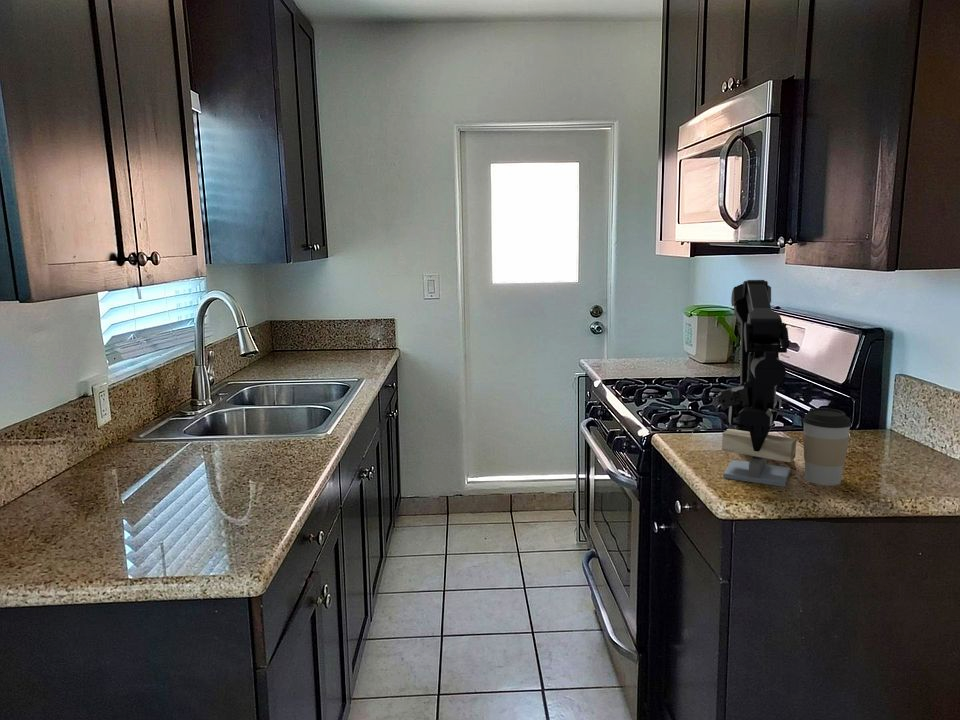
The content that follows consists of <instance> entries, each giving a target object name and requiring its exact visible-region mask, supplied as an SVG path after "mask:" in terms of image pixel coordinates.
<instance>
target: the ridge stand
mask: <svg viewBox="0 0 960 720" xmlns="http://www.w3.org/2000/svg"><path fill="white" fill-rule="evenodd" d="M751 457H752V458H751V459H750V461H745V460H744V461H743V460H736V459H731V461H730V463H729V464H728V465H727V467H726V469H725V471H724V472H723V477H722V478H724V479H729V480H736V481H742V482H750V483H757V484H763V485H770V486H774V487H775V486H776V487H782V488H785V487H786V483H787V482H788V479H789V476H790V474H791V467H789V466H788V467H787V466H780V465H773V464H766V463H767V458H762V457H756V456H751Z"/></svg>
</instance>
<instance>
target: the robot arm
mask: <svg viewBox="0 0 960 720" xmlns="http://www.w3.org/2000/svg"><path fill="white" fill-rule="evenodd" d="M730 301H731V302H730V303H731V307H733V313H734V314H733V315H734V316H735V318H736V319H737V320H738V323H740V366H739V367H740V368H739V369H740V372H739V374H740V377H739V378H740V379H739V380H740V384H739V385H738V386H736V387H732V388H729V387H728V388H727V389H722V390H721V391H720V392H718V394H717V399H718V400H717V402H718V404H720V407H721V409H722V410H724V409H727V408H728V423H729V426H734V429H735V430H741V431H748V432H750V436H751V440H752V445H753V449H754V451H758V452H759V451H760V449H761V447H762V445H763V443H764V441H765V438H766V436H767V435H769V433H770V431H771V429H772V427H773V425H774V423H775V420H776V419H777V416H778V414H779V412H778V410H779V411H780V410H781V407H782V398H781V397H780V396H779V395H778V394H777V387H778V385H780V384H781V383H782V382H783V381H784V380H785V377H786V374H787V371H786V366H785V365H784V363H783V362H782V361H781V360H780V357H779V353H780V354H784V353H785V354H786V353H788V349H789V348H790V340H789V331H788V328H787V326H786V322H783V320H782V317H781V314H780V313H779V312H777V311H774V310H772V306H771V303H772V287H771V286H770V285H769V282H768V280H765V279H747V280H744V281H743V282H742V283H741V284H739V285H736V286H734V287H733V288H732V290H731V300H730ZM775 407H776V410H777V411H775V410H774V409H775ZM773 410H774V411H773Z"/></svg>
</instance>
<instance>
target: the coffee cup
mask: <svg viewBox="0 0 960 720" xmlns="http://www.w3.org/2000/svg"><path fill="white" fill-rule="evenodd" d="M802 422H803V431H802V435H803V437H802V440H803V459H804V478H805V480H806V481H807V482H809V483H811V484H815V485H821V486H827V487H829V486H839V485H840V484H841V482H842V478H843V471H844V465H845V463H846V457H847V454H848V453H847V452H848V448H849V442H850V428H851V426H852V422H851V418H850V417H848V416H847V415H846V413H845V412H844V411H841V410H840V409H835V408H834V409H833V408H824V407H822V408H821V407H820V408H813V407H810V408H809V410H808V413H805V414H804V416H803V419H802Z"/></svg>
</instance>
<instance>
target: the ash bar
mask: <svg viewBox="0 0 960 720" xmlns="http://www.w3.org/2000/svg"><path fill="white" fill-rule="evenodd" d="M721 442H722V443H721V451H723V452H728V453H734V454H740V455H745V456H751V457H753V456H756V457H762V458H766V459H768V460H769V459H770V460H772V461H773V460H775V461H781V462H787V463H791V462H792V461H793V460H794V459H795V458H796V455H797V452H796V451H797V438H793V437H786V436H781V435H780V436H778V435H773V434H768V435H767V436H766V438H765V441H764V443H763V445H762V447H761V449H760V451H759V452H758V451H754V449H753V445H752V440H751V436H750V432H748V431H741V430H735V428H728V429H726V430H725V431H723V432H722V441H721Z"/></svg>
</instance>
